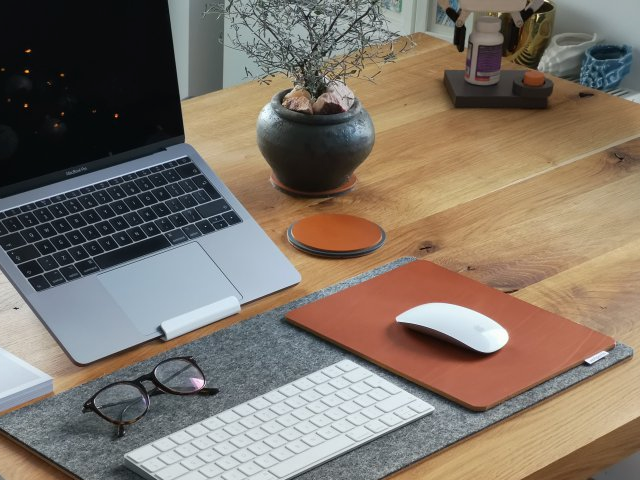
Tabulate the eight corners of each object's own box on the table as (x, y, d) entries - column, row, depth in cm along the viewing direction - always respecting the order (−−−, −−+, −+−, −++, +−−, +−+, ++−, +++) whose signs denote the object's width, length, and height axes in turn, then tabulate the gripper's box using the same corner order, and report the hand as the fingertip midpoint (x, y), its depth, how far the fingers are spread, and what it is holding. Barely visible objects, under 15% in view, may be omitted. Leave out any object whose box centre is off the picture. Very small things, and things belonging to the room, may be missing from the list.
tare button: (540, 80, 172) (542, 71, 171) (545, 87, 169) (546, 77, 168) (521, 80, 172) (522, 70, 171) (525, 87, 169) (526, 77, 168)
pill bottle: (505, 80, 175) (513, 19, 170) (486, 88, 172) (494, 26, 167) (476, 72, 179) (483, 12, 174) (457, 80, 175) (463, 19, 170)
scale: (535, 81, 181) (538, 60, 179) (553, 110, 169) (557, 88, 168) (443, 80, 181) (445, 60, 179) (455, 109, 170) (458, 88, 168)
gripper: (442, -62, 161) (431, 57, 170) (563, -62, 160) (545, 57, 170) (435, -74, 167) (425, 42, 176) (551, -74, 167) (535, 42, 176)
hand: (484, 49), depth 173 cm, fingers open, 7 cm apart
